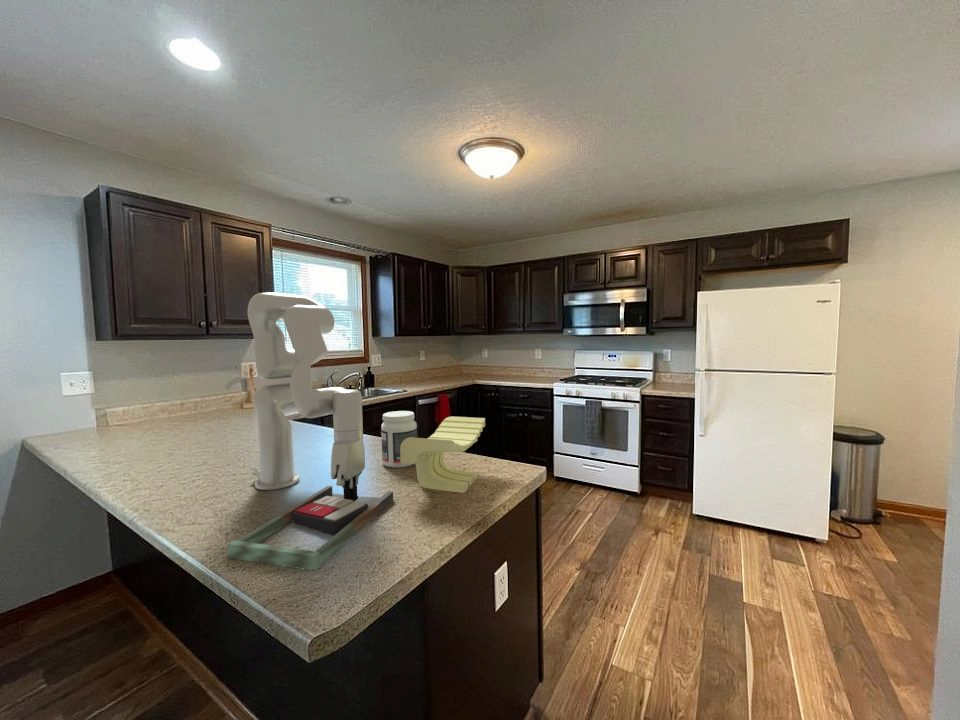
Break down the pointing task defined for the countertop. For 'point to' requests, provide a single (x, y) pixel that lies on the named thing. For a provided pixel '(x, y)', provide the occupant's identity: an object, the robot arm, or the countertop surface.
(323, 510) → the calculator
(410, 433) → the supplement tub
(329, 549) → the channel
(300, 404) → the robot arm
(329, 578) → the countertop surface
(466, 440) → the slatted curved stool
